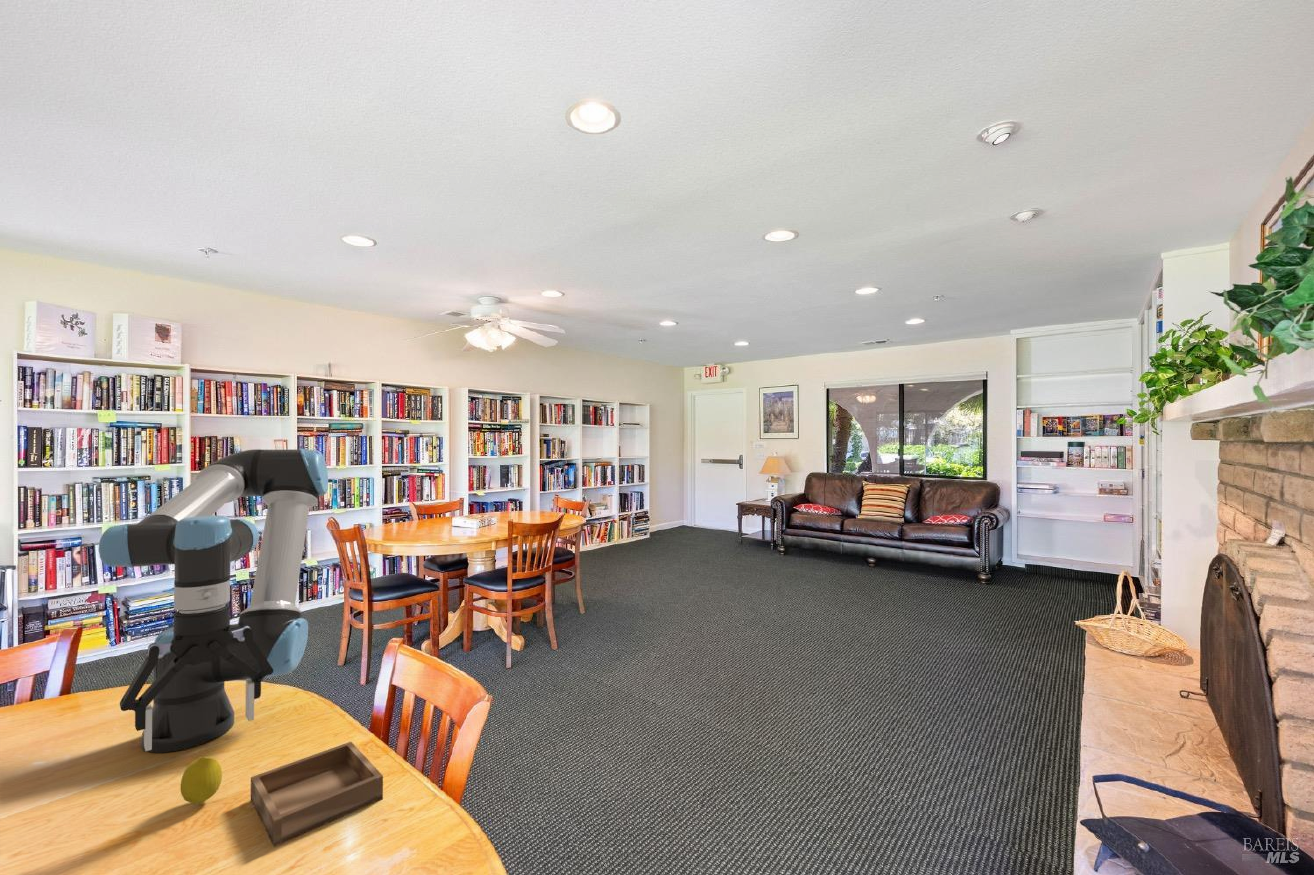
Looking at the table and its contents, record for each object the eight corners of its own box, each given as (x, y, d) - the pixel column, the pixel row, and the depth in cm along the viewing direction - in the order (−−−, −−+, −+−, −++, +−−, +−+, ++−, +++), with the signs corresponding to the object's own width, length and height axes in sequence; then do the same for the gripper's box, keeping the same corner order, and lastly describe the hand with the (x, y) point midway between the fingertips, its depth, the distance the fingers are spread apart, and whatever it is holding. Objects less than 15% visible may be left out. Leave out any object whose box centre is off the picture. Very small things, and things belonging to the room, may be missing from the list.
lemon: (198, 816, 93) (198, 768, 93) (171, 812, 94) (171, 764, 94) (230, 795, 98) (230, 750, 98) (204, 791, 100) (204, 746, 100)
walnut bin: (250, 800, 97) (250, 777, 97) (350, 762, 109) (351, 741, 109) (273, 846, 86) (274, 820, 86) (382, 798, 98) (382, 775, 98)
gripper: (101, 629, 85) (99, 771, 84) (292, 597, 103) (291, 713, 102) (99, 619, 90) (97, 752, 90) (282, 589, 108) (281, 700, 108)
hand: (201, 732), depth 96 cm, fingers open, 13 cm apart
